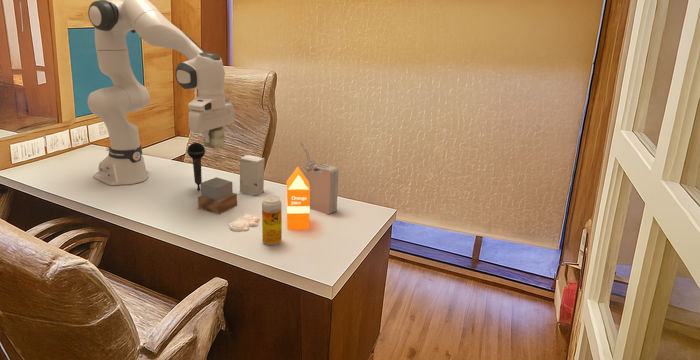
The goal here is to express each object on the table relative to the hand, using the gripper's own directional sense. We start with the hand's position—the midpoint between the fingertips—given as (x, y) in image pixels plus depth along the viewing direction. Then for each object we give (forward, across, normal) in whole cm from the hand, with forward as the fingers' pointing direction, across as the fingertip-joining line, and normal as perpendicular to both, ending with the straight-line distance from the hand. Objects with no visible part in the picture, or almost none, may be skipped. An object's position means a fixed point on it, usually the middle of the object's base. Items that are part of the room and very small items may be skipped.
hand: (214, 140), depth 169 cm
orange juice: (+26, -3, +33) cm, 42 cm away
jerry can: (+26, -19, +32) cm, 45 cm away
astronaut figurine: (+26, +7, +18) cm, 33 cm away
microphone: (+26, -9, -17) cm, 32 cm away
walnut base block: (+26, 0, 0) cm, 26 cm away
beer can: (+26, +13, +33) cm, 44 cm away
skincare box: (+26, -19, +2) cm, 32 cm away
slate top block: (+21, 0, 0) cm, 21 cm away
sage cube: (+2, 0, 0) cm, 2 cm away
